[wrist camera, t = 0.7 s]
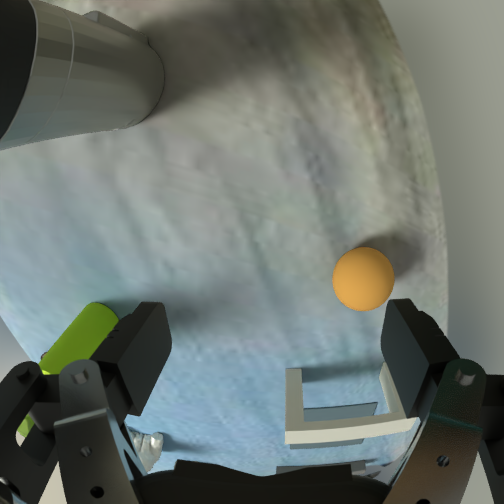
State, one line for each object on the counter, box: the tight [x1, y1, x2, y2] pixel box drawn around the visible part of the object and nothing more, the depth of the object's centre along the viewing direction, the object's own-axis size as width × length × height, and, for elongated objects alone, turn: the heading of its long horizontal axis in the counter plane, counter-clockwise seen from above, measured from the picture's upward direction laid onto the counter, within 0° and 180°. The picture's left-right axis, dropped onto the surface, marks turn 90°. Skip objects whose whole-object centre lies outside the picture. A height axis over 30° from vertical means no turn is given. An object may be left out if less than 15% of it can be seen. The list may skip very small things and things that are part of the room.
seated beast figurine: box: [129, 430, 163, 472], centre depth 43 cm, size 10×9×12 cm
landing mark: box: [290, 402, 377, 449], centre depth 42 cm, size 13×13×1 cm
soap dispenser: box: [17, 303, 119, 438], centre depth 27 cm, size 6×7×20 cm
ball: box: [333, 247, 394, 311], centre depth 27 cm, size 6×6×6 cm
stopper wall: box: [276, 460, 366, 475], centre depth 47 cm, size 2×18×2 cm, turn 94°
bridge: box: [285, 362, 417, 444], centre depth 32 cm, size 3×15×10 cm, turn 94°
